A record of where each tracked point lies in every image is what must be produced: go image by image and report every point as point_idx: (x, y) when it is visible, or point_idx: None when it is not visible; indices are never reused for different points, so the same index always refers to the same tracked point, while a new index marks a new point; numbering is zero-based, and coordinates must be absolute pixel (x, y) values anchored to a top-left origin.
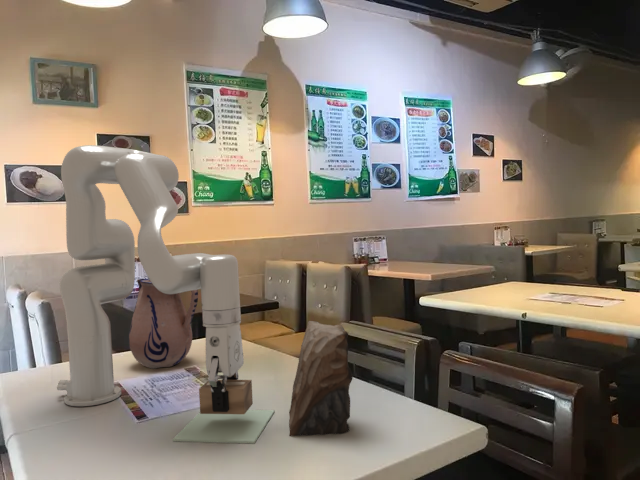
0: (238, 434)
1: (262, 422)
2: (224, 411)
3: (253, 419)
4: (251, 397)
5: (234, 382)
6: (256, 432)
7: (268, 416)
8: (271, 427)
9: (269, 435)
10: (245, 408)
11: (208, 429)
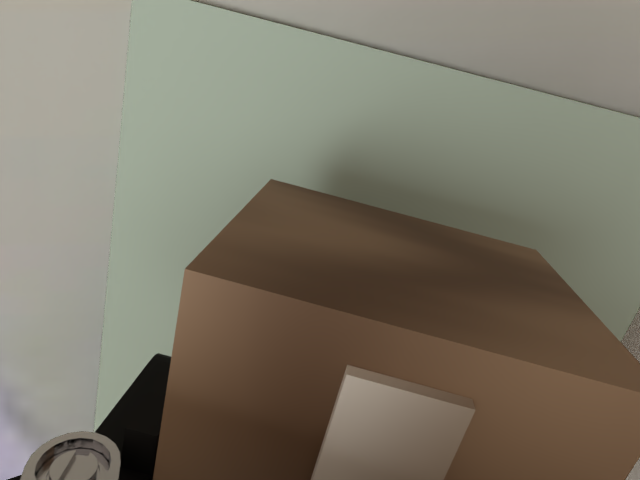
0: (555, 251)
1: (378, 85)
2: None
3: (305, 154)
4: (285, 205)
5: None
6: (565, 129)
7: (261, 36)
8: (451, 12)
9: (608, 27)
10: (506, 253)
11: None
